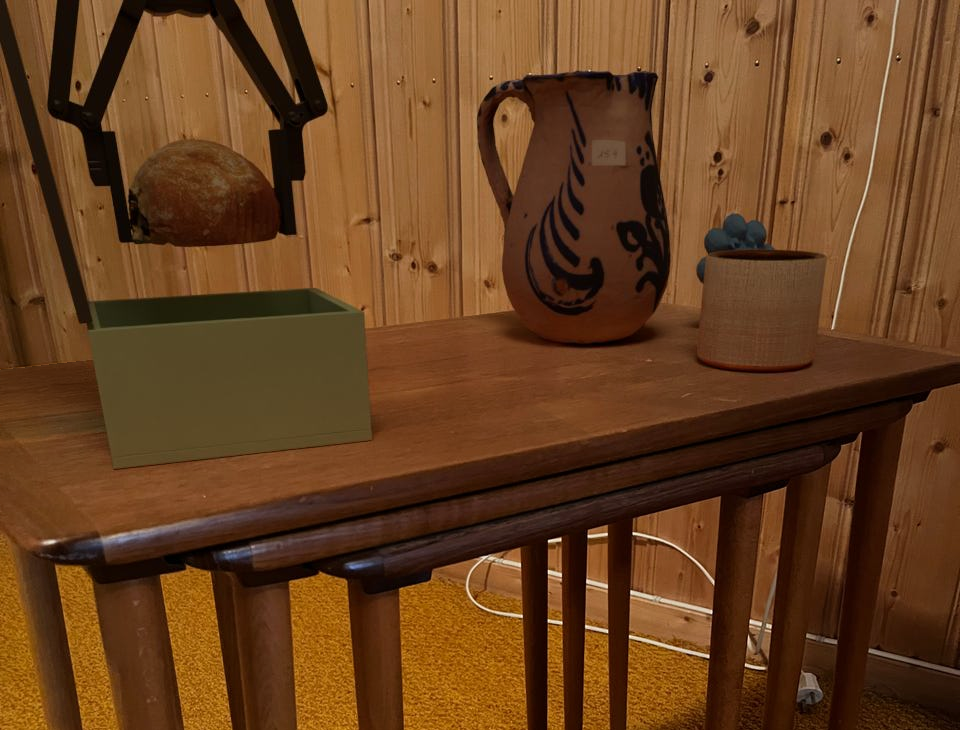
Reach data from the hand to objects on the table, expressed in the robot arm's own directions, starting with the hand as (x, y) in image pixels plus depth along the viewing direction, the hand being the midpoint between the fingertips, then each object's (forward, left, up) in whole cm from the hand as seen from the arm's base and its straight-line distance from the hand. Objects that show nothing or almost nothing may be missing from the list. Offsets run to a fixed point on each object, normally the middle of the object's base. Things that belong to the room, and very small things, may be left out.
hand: (208, 237), depth 67 cm
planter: (+50, +5, -13) cm, 52 cm away
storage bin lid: (-9, 0, +5) cm, 11 cm away
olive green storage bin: (0, 0, -13) cm, 13 cm away
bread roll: (0, 0, 0) cm, 0 cm away
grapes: (+60, +22, -13) cm, 65 cm away
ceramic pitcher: (+40, +25, -13) cm, 49 cm away
